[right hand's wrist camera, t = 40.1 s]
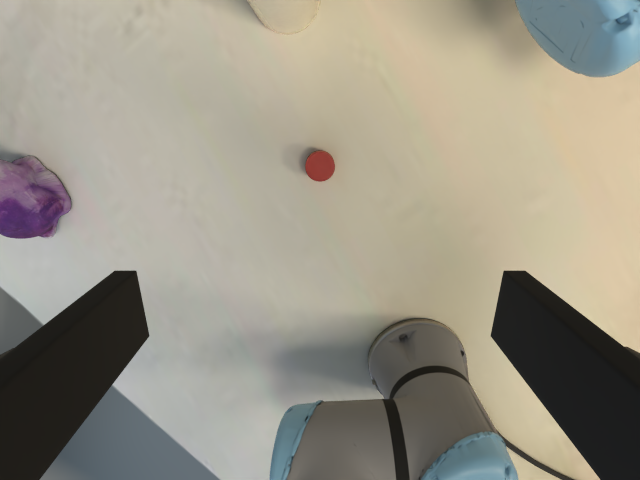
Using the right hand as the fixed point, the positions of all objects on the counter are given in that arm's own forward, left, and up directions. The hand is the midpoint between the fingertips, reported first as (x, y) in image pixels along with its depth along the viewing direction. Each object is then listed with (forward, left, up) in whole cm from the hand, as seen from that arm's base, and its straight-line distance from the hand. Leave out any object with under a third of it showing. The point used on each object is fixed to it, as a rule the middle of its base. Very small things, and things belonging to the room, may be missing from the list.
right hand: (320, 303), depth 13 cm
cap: (0, 0, -34) cm, 34 cm away
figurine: (+35, +16, -36) cm, 53 cm away
